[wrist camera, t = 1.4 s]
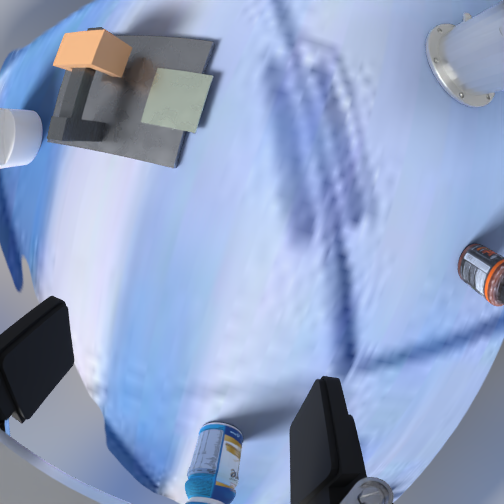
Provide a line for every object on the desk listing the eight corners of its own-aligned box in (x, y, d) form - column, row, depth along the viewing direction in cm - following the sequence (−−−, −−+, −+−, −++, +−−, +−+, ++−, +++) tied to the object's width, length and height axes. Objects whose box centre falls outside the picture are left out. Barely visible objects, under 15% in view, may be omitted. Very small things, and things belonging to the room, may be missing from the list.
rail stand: (81, 39, 27) (44, 22, 18) (226, 46, 27) (211, 13, 19) (51, 141, 32) (8, 143, 23) (187, 170, 32) (158, 175, 24)
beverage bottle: (204, 415, 45) (179, 510, 26) (250, 427, 45) (238, 523, 26) (195, 437, 47) (172, 521, 28) (236, 448, 48) (224, 533, 29)
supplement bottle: (487, 243, 32) (536, 270, 21) (478, 281, 34) (522, 315, 23) (460, 240, 32) (511, 269, 21) (451, 280, 34) (495, 318, 23)
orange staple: (94, 47, 25) (64, 33, 19) (132, 47, 25) (104, 29, 19) (84, 75, 26) (52, 65, 20) (121, 77, 26) (91, 64, 20)
